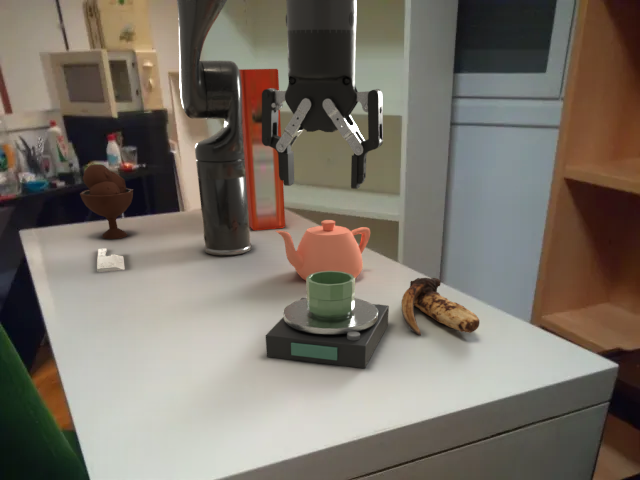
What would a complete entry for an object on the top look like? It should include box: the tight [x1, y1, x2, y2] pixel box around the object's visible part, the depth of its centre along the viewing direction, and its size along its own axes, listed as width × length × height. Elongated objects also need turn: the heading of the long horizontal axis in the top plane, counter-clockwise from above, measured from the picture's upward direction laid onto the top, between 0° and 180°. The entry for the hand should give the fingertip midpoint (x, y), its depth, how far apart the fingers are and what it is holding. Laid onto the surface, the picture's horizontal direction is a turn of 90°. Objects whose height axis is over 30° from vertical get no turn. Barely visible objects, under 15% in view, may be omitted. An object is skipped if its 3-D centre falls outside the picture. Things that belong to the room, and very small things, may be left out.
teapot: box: [275, 219, 371, 281], centre depth 104 cm, size 12×18×10 cm
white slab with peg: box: [96, 247, 126, 273], centre depth 116 cm, size 5×15×1 cm, turn 17°
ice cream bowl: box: [79, 163, 134, 240], centre depth 129 cm, size 11×11×15 cm
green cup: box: [305, 271, 356, 318], centre depth 78 cm, size 6×6×4 cm
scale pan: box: [282, 297, 378, 335], centre depth 79 cm, size 13×13×1 cm
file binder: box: [238, 68, 286, 231], centre depth 137 cm, size 8×17×32 cm, turn 17°
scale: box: [265, 297, 390, 369], centre depth 80 cm, size 15×13×4 cm
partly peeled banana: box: [401, 277, 480, 336], centre depth 86 cm, size 9×5×18 cm
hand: (321, 186), depth 73 cm, fingers open, 8 cm apart
